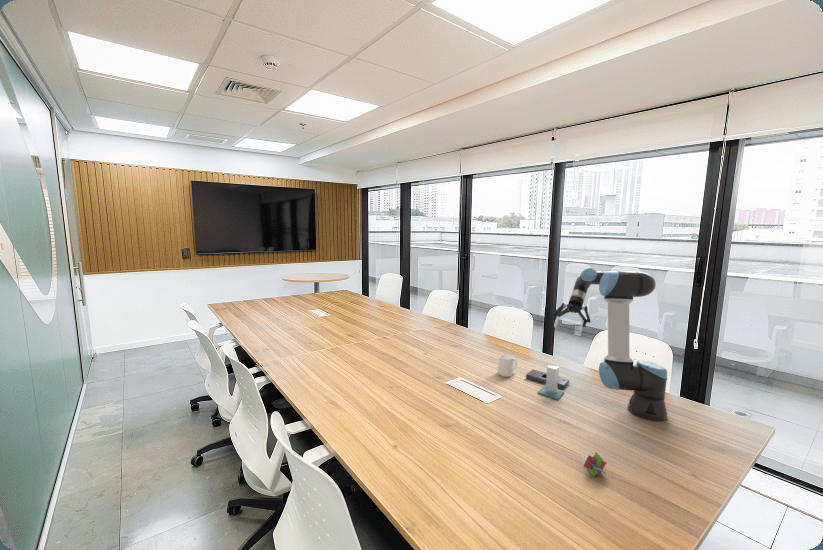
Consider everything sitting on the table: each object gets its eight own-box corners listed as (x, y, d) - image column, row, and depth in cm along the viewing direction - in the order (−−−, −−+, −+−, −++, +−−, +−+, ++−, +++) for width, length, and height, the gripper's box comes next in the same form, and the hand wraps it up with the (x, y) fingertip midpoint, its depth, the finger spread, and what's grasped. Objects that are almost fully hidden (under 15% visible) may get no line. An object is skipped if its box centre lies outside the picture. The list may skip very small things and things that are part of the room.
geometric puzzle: (604, 460, 122) (592, 443, 121) (616, 474, 116) (603, 455, 115) (586, 472, 123) (574, 455, 122) (597, 486, 116) (585, 468, 115)
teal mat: (564, 393, 179) (564, 391, 179) (557, 400, 171) (558, 398, 171) (544, 387, 185) (544, 385, 185) (537, 393, 178) (537, 391, 178)
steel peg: (557, 391, 178) (559, 366, 177) (554, 394, 175) (556, 369, 174) (548, 388, 181) (550, 364, 180) (545, 391, 178) (547, 367, 176)
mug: (511, 369, 209) (512, 352, 207) (521, 375, 201) (522, 357, 200) (494, 372, 204) (495, 355, 202) (504, 378, 196) (505, 360, 195)
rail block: (569, 383, 191) (569, 379, 191) (563, 389, 183) (563, 384, 183) (532, 373, 204) (533, 369, 203) (525, 378, 196) (526, 374, 196)
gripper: (601, 306, 202) (592, 337, 192) (556, 300, 218) (546, 328, 208) (599, 298, 197) (590, 329, 187) (554, 292, 213) (543, 321, 203)
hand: (567, 328), depth 198 cm, fingers open, 13 cm apart
